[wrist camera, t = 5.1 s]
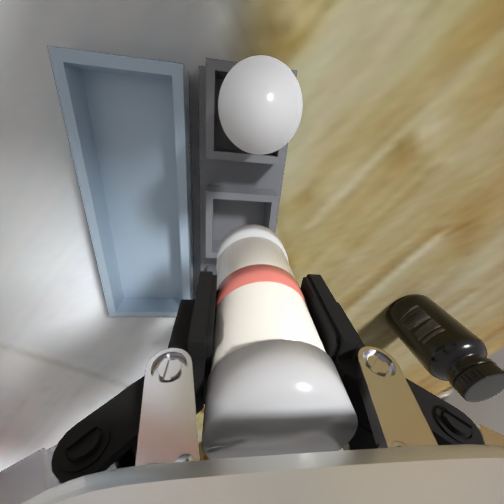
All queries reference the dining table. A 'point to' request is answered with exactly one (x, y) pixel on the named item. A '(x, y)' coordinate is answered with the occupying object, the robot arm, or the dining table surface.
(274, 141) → the ball
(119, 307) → the parts tray
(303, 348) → the cylinder
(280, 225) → the dining table surface
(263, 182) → the fuse holder
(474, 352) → the supplement bottle
